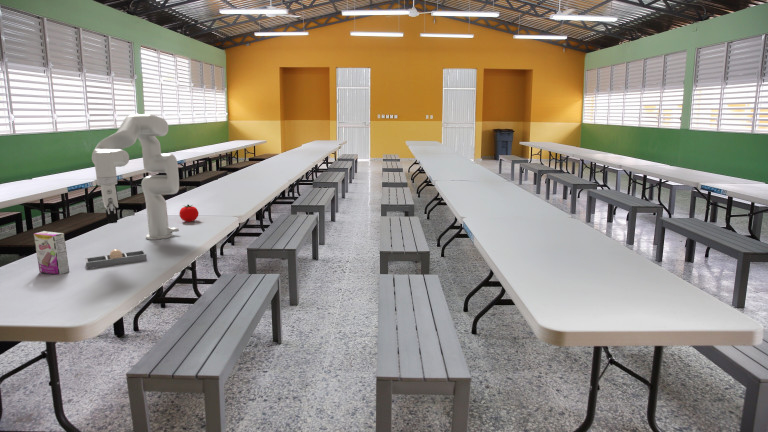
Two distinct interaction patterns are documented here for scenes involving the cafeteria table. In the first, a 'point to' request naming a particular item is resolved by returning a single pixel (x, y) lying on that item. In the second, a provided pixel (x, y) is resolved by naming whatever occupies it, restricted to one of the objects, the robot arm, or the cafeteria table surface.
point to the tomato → (188, 213)
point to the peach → (115, 254)
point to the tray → (115, 259)
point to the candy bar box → (51, 252)
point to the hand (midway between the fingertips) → (112, 220)
